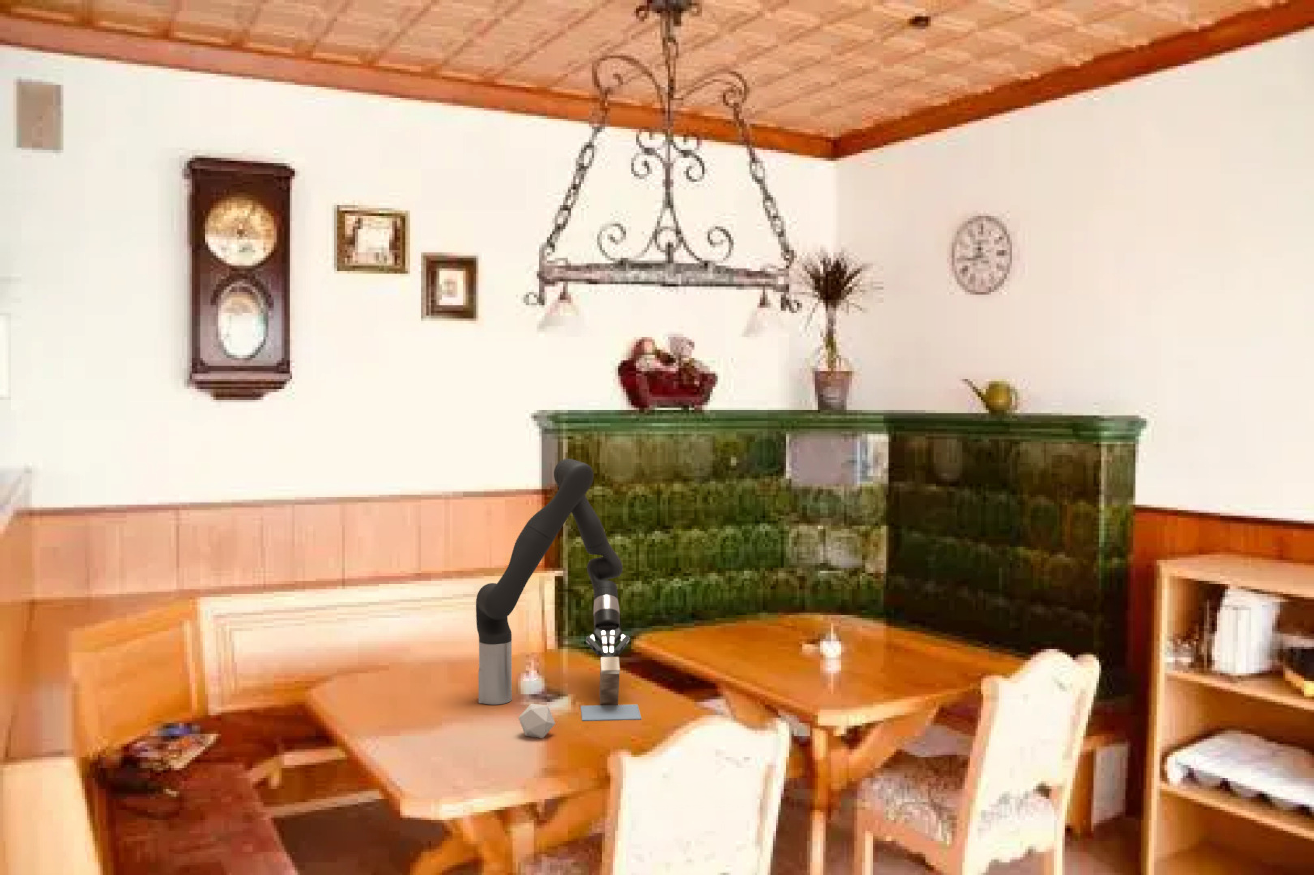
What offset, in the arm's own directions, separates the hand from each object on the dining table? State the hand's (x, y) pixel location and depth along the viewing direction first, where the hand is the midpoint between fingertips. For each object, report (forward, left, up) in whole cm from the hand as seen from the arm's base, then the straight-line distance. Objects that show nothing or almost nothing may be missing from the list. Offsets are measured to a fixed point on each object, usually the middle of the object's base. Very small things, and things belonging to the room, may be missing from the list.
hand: (608, 666), depth 320 cm
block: (0, +2, -10) cm, 10 cm away
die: (-20, -25, -11) cm, 34 cm away
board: (0, -8, -11) cm, 13 cm away
